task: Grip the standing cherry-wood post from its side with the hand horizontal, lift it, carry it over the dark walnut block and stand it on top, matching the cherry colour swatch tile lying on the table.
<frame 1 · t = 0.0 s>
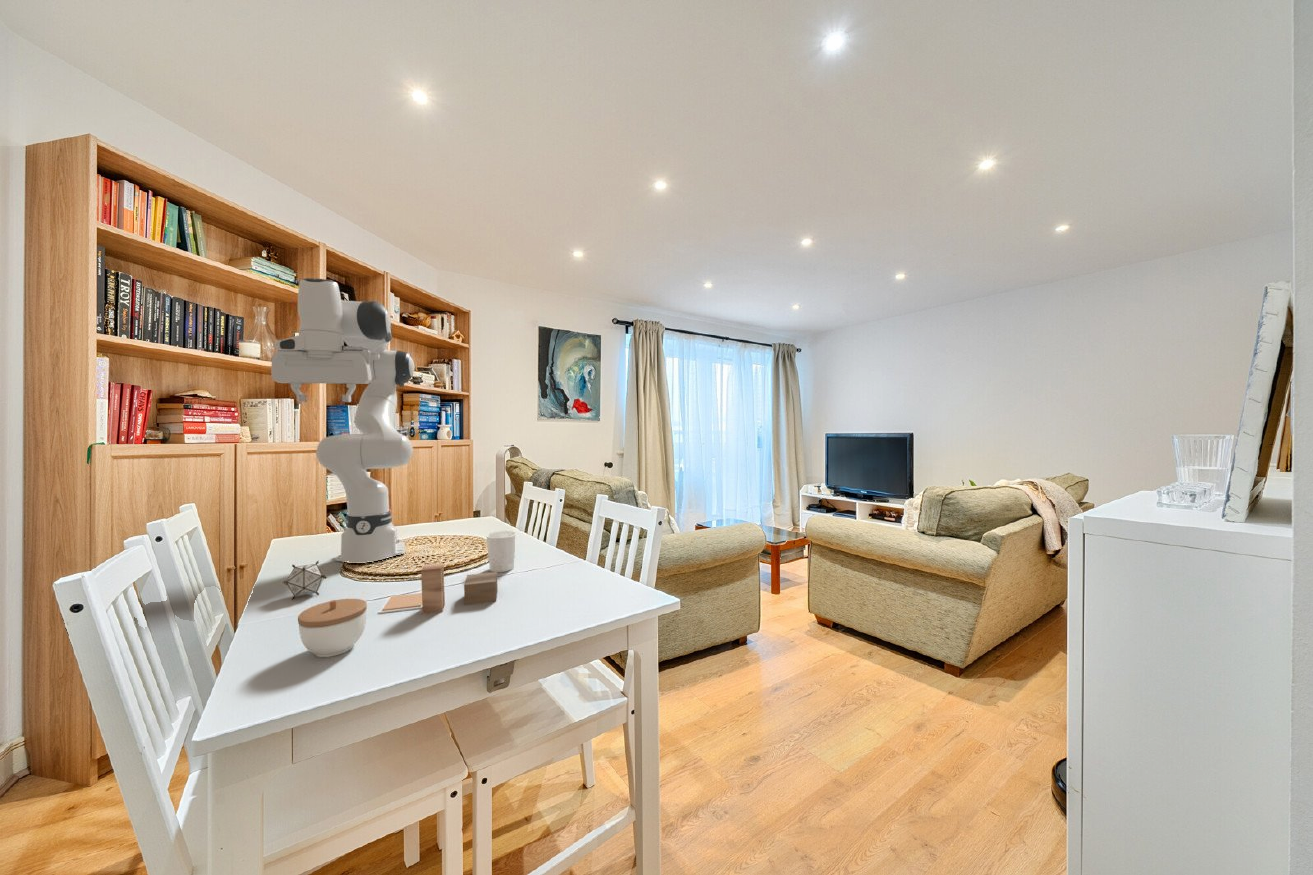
hand: (324, 402, 113), 48 cm above the table, tool pointing down, fingers open, 8 cm apart
cherry post: (434, 609, 106), on the table
lidded jar: (335, 650, 88), on the table
walnut block: (481, 598, 112), on the table
swatch tile: (406, 602, 110), on the table
white cup: (501, 569, 134), on the table
grey icosahedron model: (306, 596, 115), on the table
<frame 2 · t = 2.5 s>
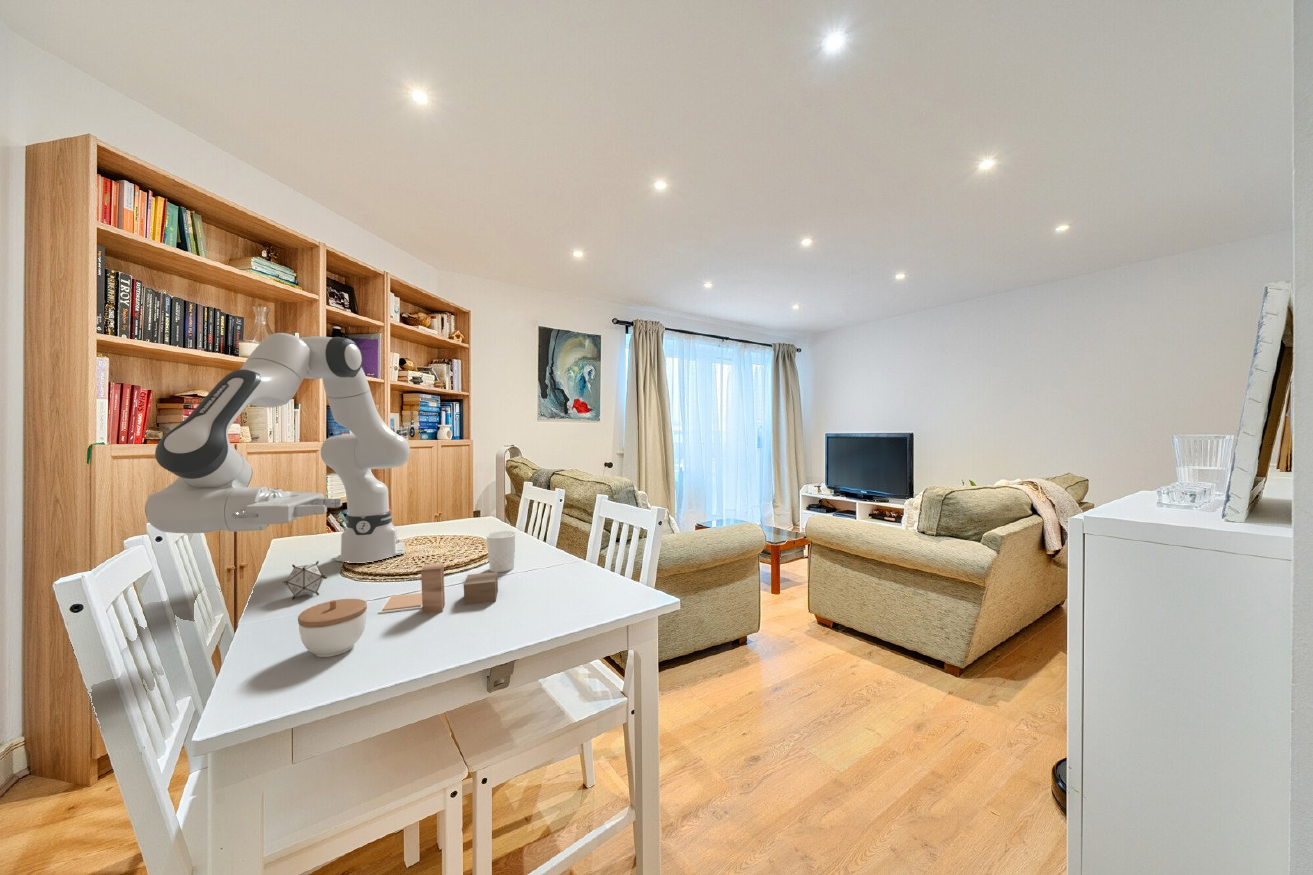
hand: (333, 505, 99), 25 cm above the table, tool horizontal, fingers open, 8 cm apart
nothing on the table moved.
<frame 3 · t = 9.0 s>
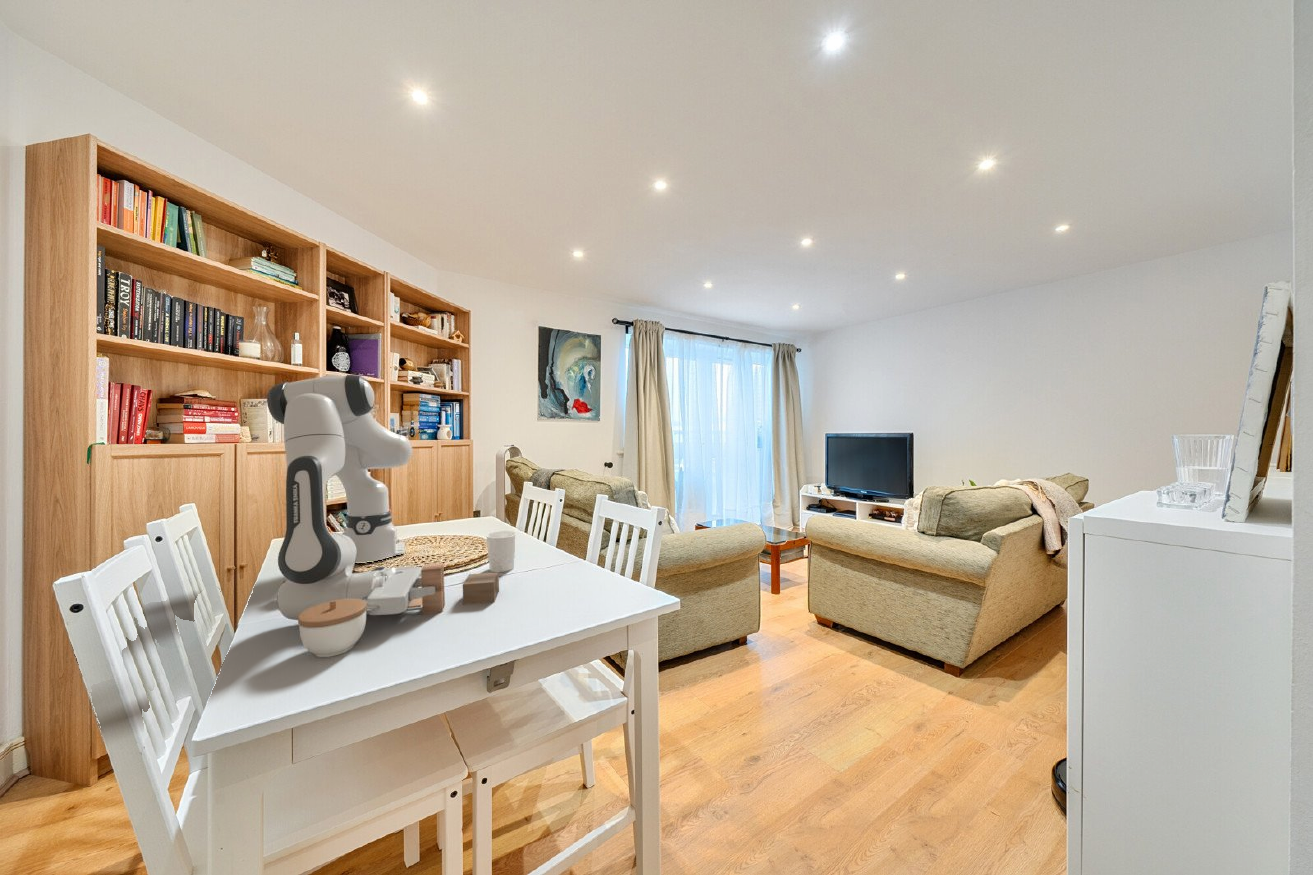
hand: (437, 585, 106), 6 cm above the table, tool horizontal, fingers closed on cherry post, 4 cm apart
cherry post: (434, 609, 106), on the table, touching gripper
everything else where it was.
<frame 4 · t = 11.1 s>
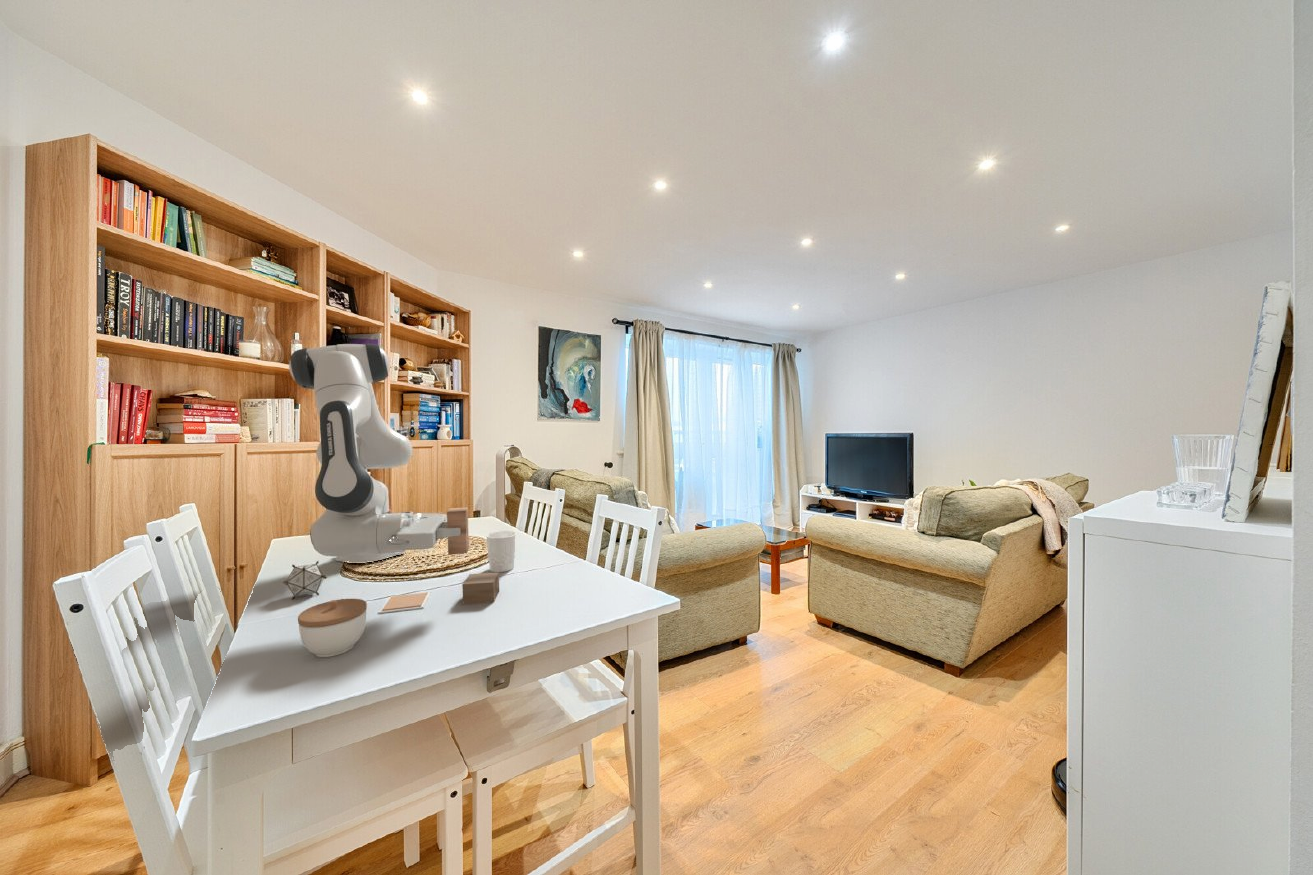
hand: (462, 528, 109), 18 cm above the table, tool horizontal, fingers closed on cherry post, 4 cm apart
cherry post: (458, 551, 109), point 12 cm above the table, touching gripper
everything else where it was.
when the fingers open (11 cm above the table, at t = 13.3 s): cherry post drops 1 cm, point 5 cm above the table.
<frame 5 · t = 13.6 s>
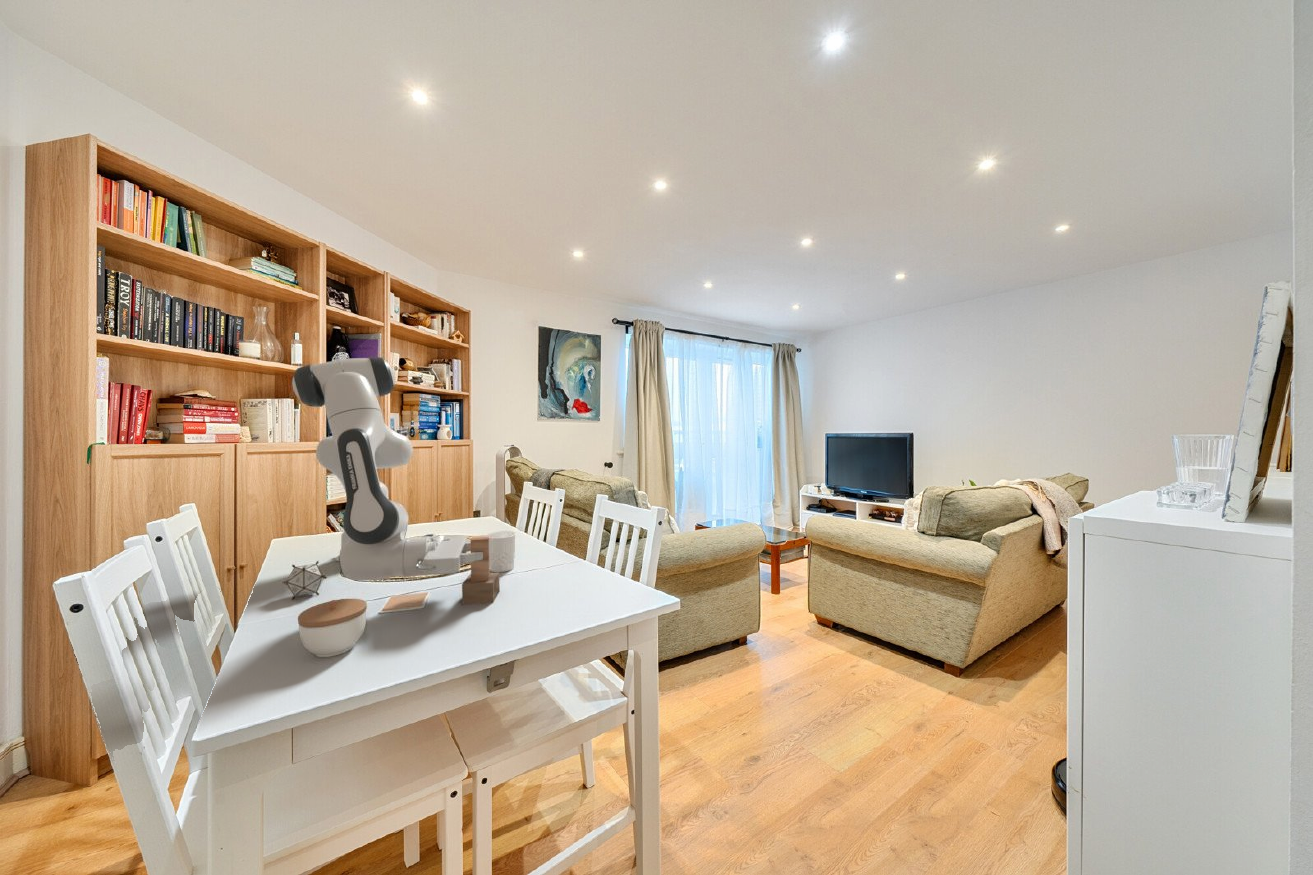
hand: (484, 550, 112), 11 cm above the table, tool horizontal, fingers open, 6 cm apart
cherry post: (480, 578, 112), point 5 cm above the table
everything else where it was.
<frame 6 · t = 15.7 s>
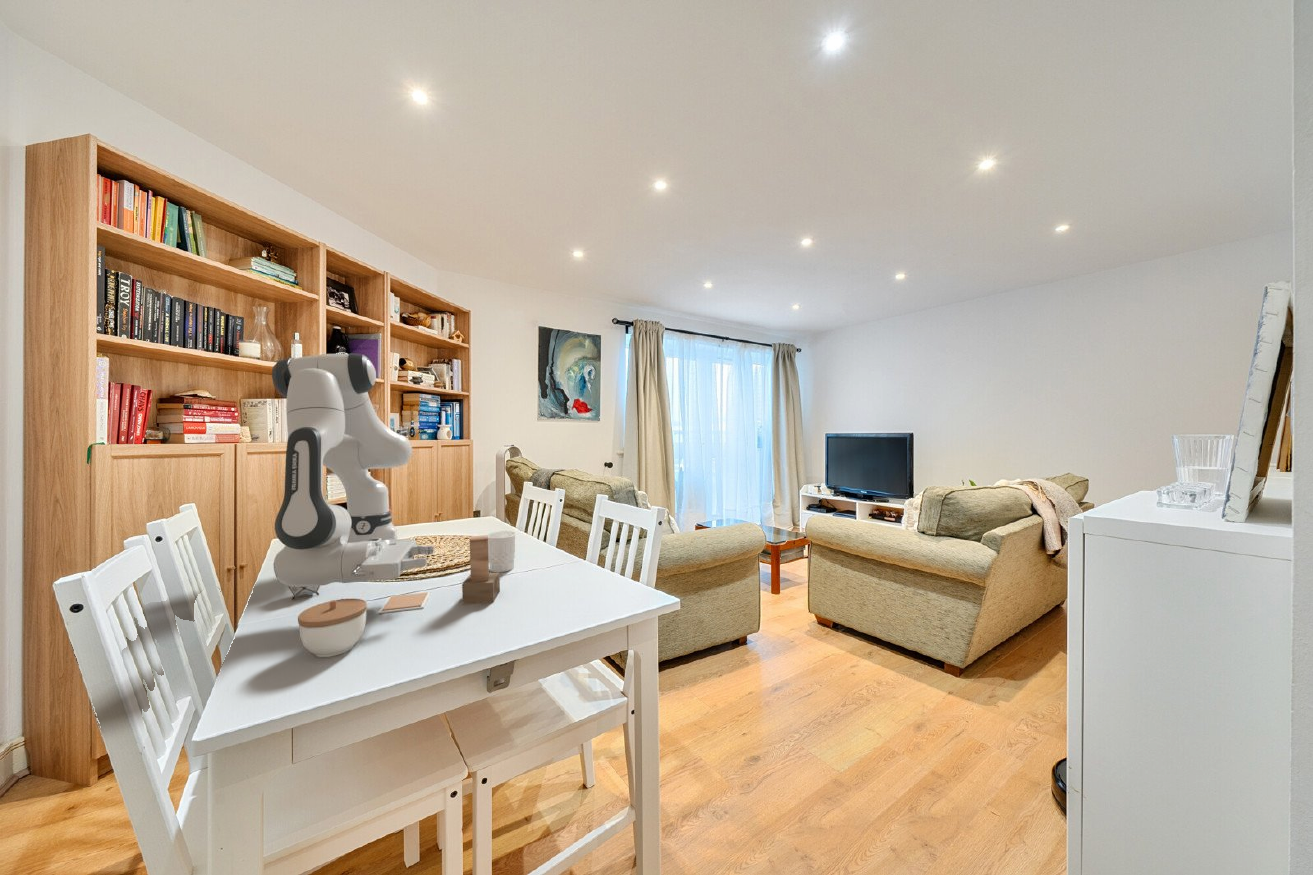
hand: (430, 555, 109), 11 cm above the table, tool horizontal, fingers open, 8 cm apart
cherry post: (480, 578, 112), point 5 cm above the table, touching walnut block
walnut block: (481, 598, 113), on the table, touching cherry post
everything else where it was.
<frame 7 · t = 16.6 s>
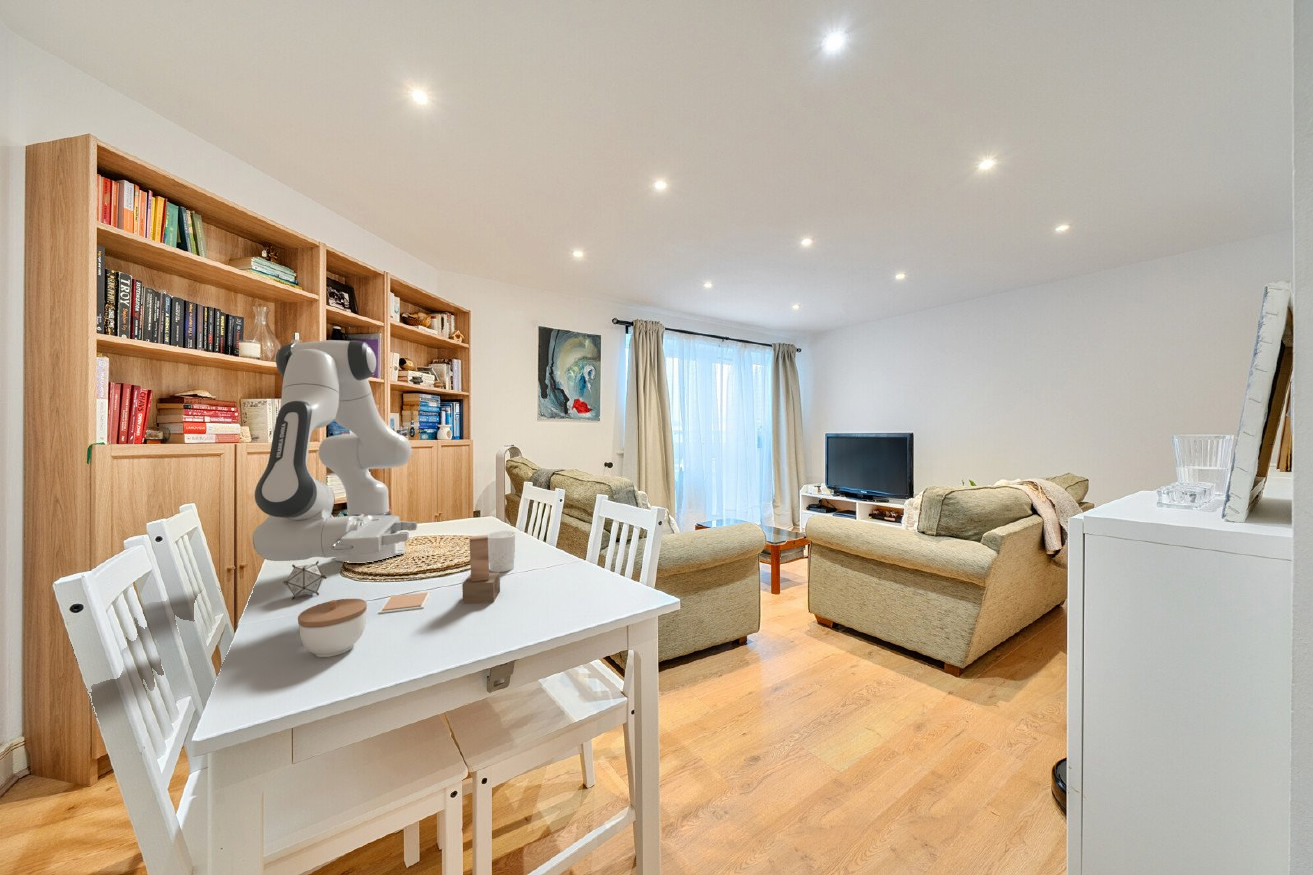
hand: (412, 530, 108), 18 cm above the table, tool horizontal, fingers open, 8 cm apart
nothing on the table moved.
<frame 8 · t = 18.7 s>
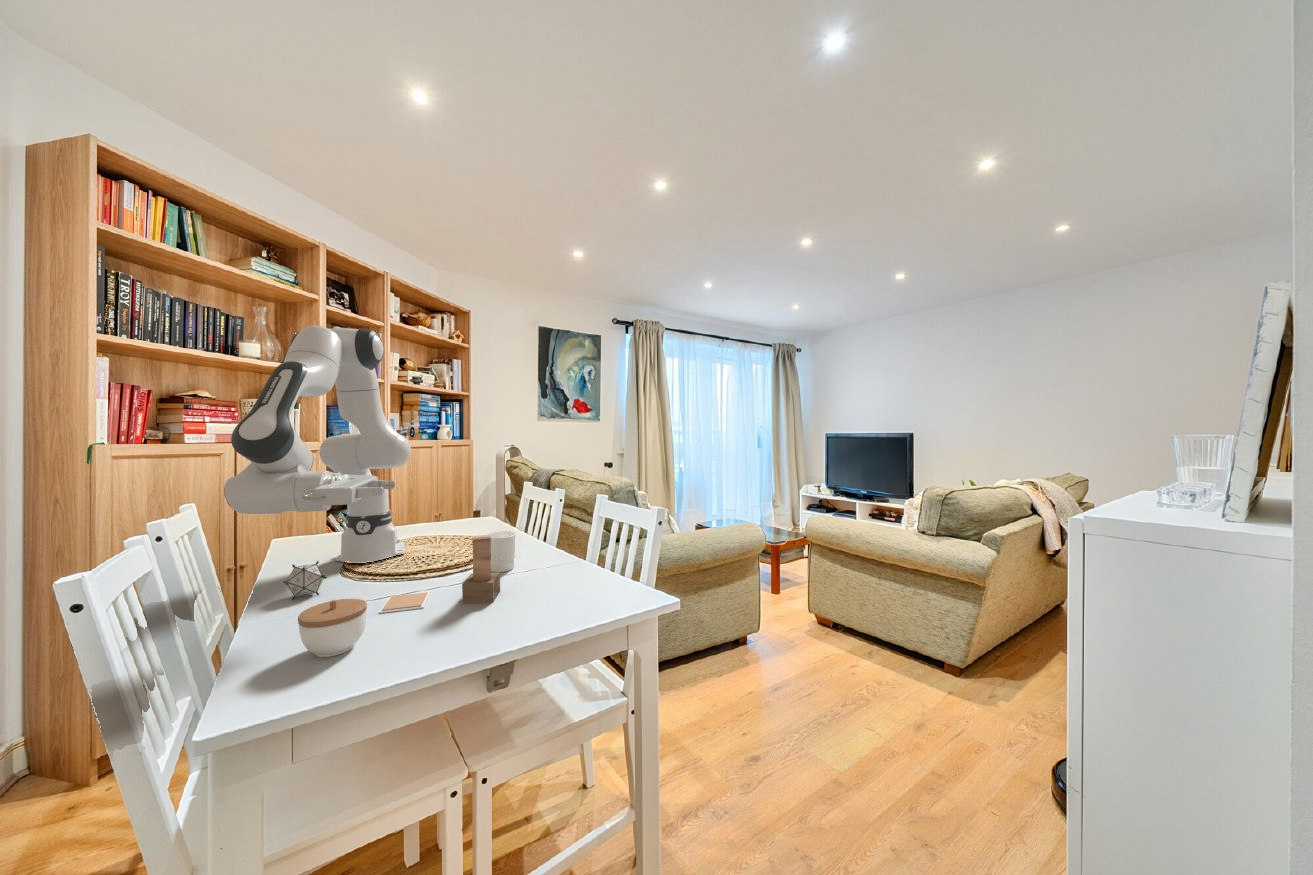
hand: (389, 487, 106), 28 cm above the table, tool horizontal, fingers open, 8 cm apart
cherry post: (482, 577, 112), point 5 cm above the table
walnut block: (482, 598, 113), on the table
everything else where it was.
at the end: cherry post 0.3 cm off-centre on the walnut block, point 5.1 cm above the walnut block's base; cherry post tilted 2°; the gripper is holding nothing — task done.
